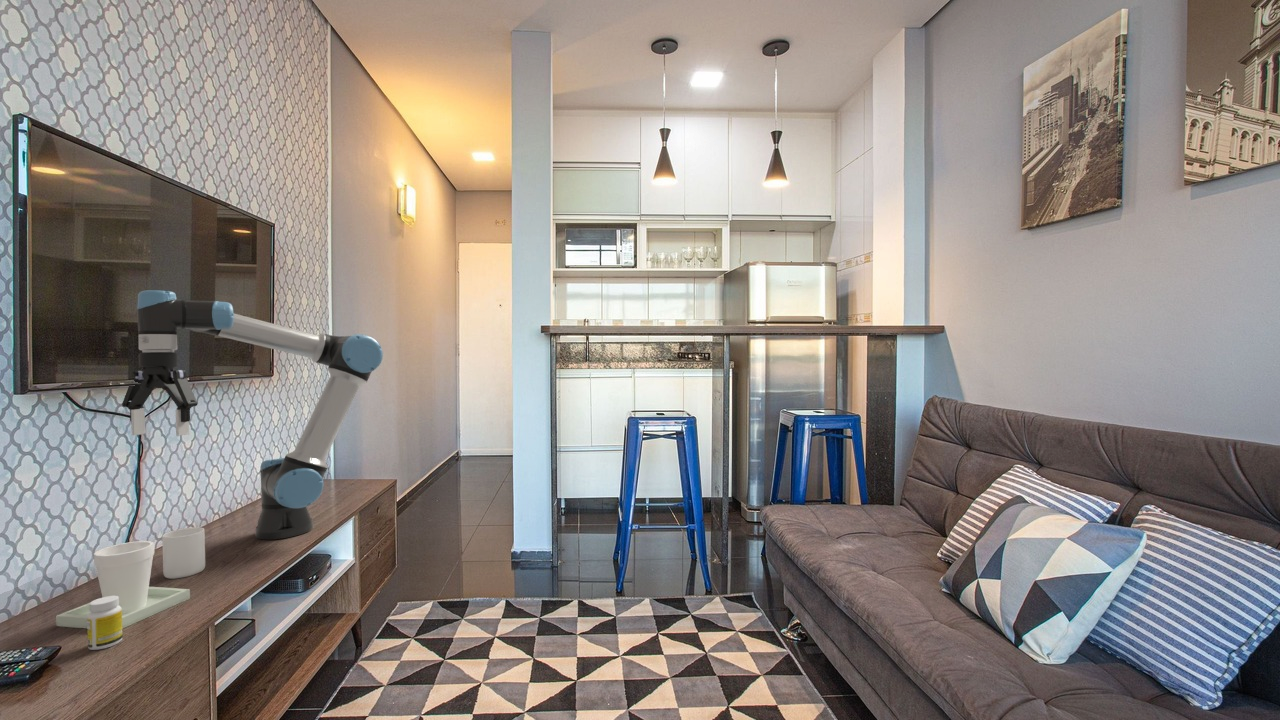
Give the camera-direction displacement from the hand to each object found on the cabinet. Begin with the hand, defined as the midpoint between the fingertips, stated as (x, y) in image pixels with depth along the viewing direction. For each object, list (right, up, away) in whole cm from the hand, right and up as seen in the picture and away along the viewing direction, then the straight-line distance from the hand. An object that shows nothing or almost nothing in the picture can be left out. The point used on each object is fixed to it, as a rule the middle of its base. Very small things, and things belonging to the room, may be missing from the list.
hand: (160, 434), depth 143 cm
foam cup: (+13, -34, -23) cm, 43 cm away
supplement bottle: (+21, -35, -37) cm, 55 cm away
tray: (+13, -35, -23) cm, 44 cm away
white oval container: (+7, -35, 0) cm, 35 cm away
